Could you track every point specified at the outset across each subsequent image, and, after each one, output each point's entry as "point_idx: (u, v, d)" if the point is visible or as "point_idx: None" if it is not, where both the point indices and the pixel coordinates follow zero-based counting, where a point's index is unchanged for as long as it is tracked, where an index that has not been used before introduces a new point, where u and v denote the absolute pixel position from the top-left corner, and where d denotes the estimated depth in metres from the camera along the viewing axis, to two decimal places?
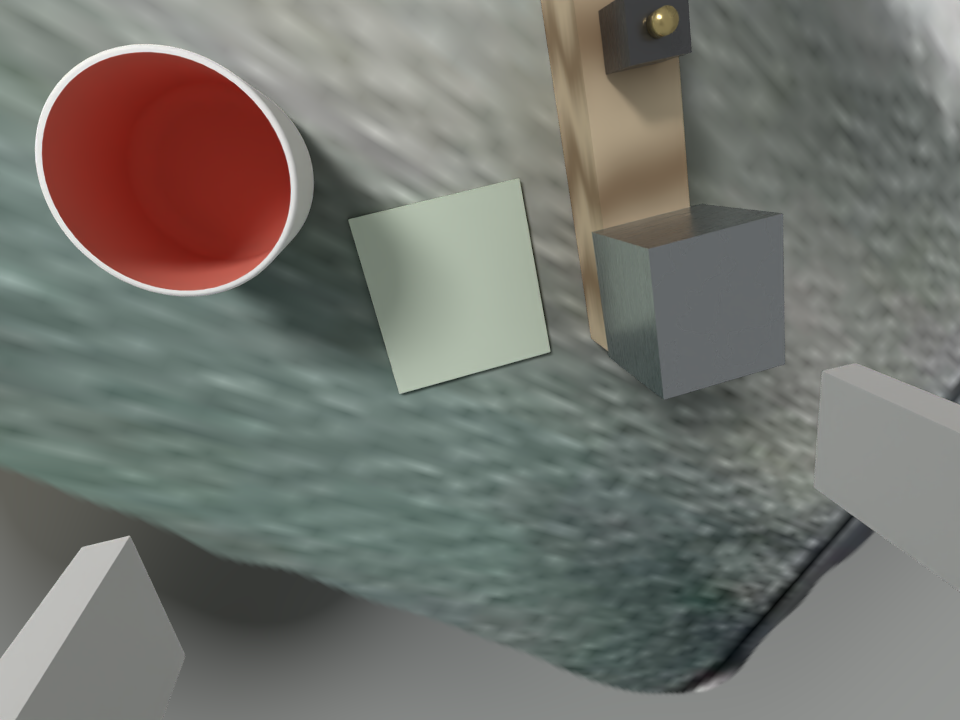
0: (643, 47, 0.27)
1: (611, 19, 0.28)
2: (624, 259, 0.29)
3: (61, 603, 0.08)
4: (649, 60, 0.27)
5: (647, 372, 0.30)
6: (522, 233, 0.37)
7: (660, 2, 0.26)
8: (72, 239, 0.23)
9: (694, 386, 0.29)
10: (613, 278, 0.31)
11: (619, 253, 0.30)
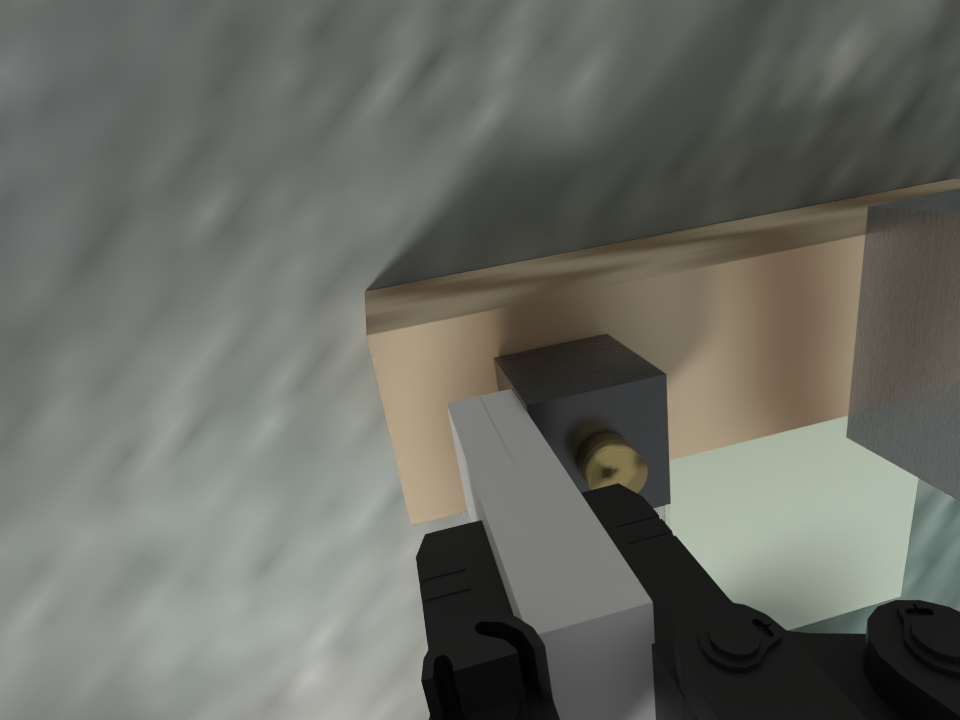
0: None
1: None
2: None
3: (472, 427, 0.11)
4: (666, 465, 0.12)
5: None
6: (746, 450, 0.23)
7: (564, 459, 0.12)
8: None
9: None
10: None
11: None
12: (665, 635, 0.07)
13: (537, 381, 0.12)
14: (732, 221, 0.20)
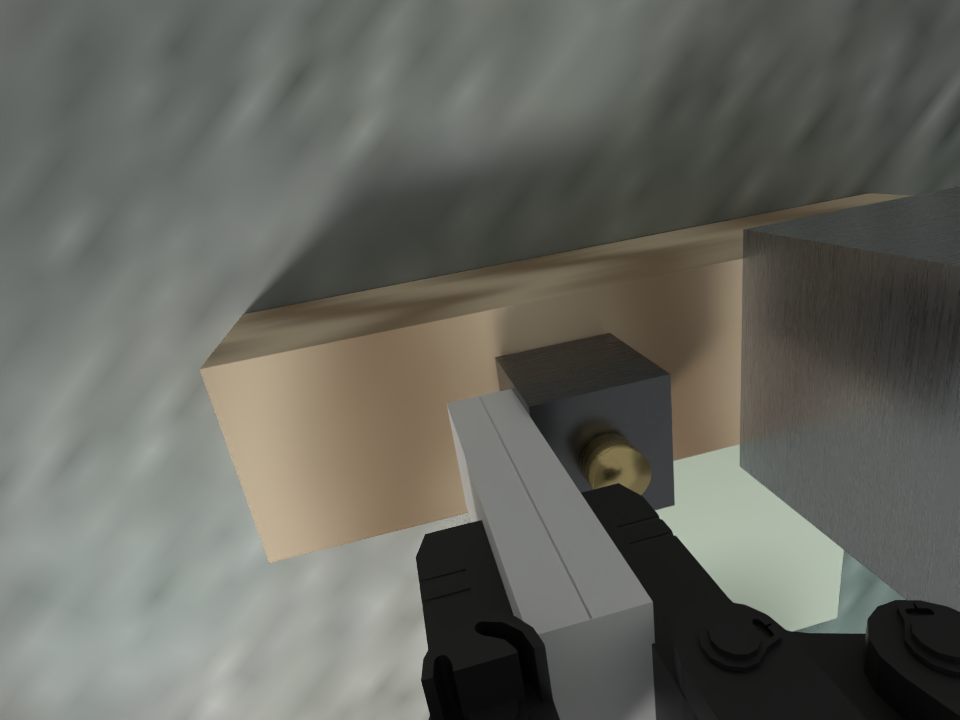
0: None
1: None
2: None
3: (472, 427, 0.11)
4: (670, 466, 0.12)
5: None
6: None
7: (566, 460, 0.12)
8: None
9: None
10: None
11: None
12: (665, 635, 0.07)
13: (539, 381, 0.12)
14: (634, 239, 0.19)
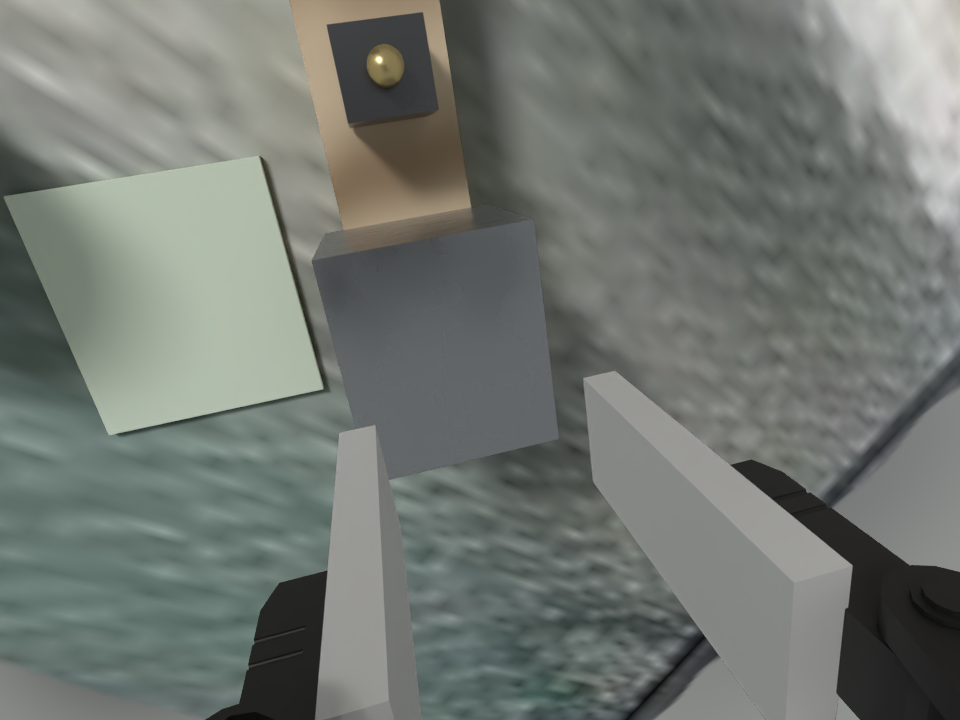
0: (365, 99, 0.19)
1: None
2: None
3: (354, 462, 0.10)
4: (376, 117, 0.19)
5: None
6: (269, 231, 0.27)
7: (384, 39, 0.19)
8: None
9: (418, 466, 0.20)
10: None
11: None
12: (856, 600, 0.07)
13: None
14: None
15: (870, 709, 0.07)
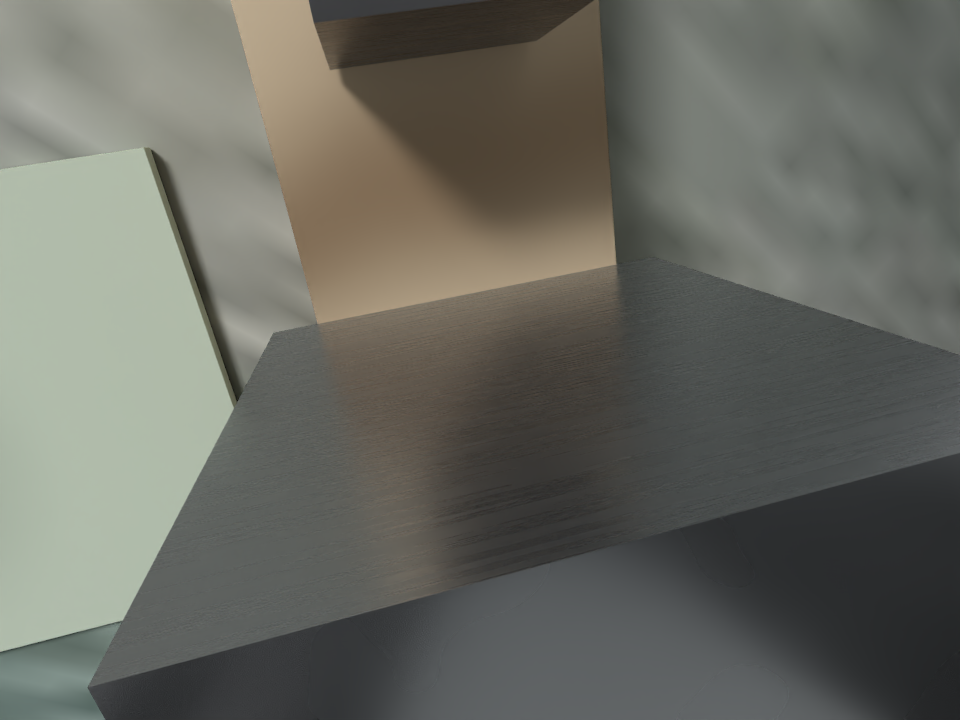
0: None
1: None
2: None
3: None
4: (412, 5, 0.06)
5: None
6: (175, 300, 0.13)
7: None
8: None
9: None
10: None
11: None
12: None
13: None
14: None
15: None
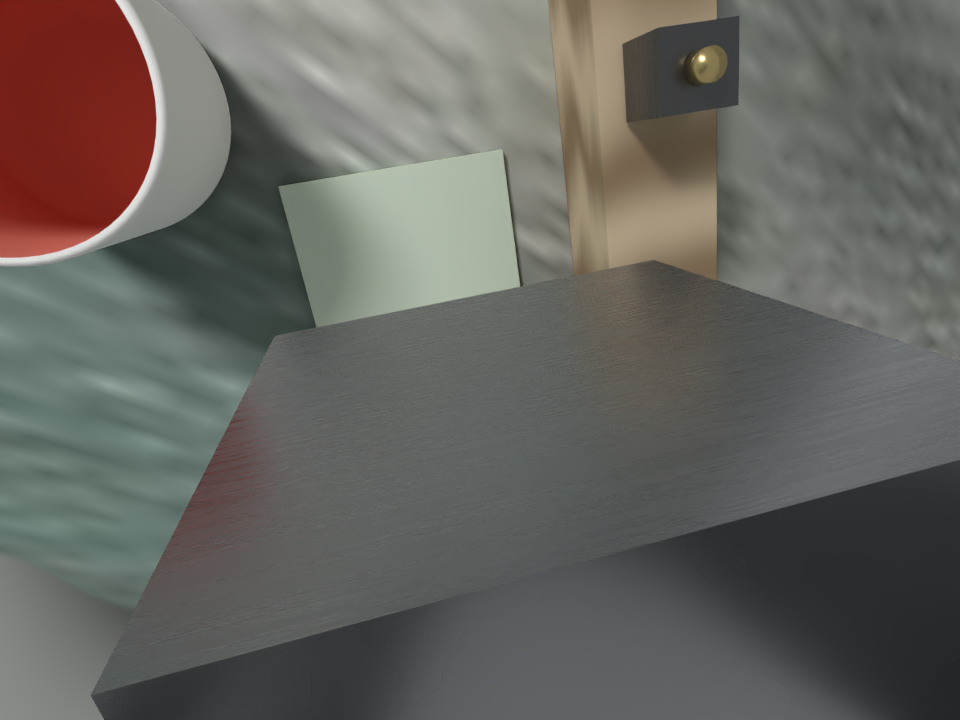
0: (678, 95, 0.21)
1: (638, 57, 0.22)
2: None
3: None
4: (685, 112, 0.21)
5: None
6: (503, 219, 0.29)
7: (704, 41, 0.21)
8: None
9: None
10: None
11: None
12: None
13: None
14: None
15: None
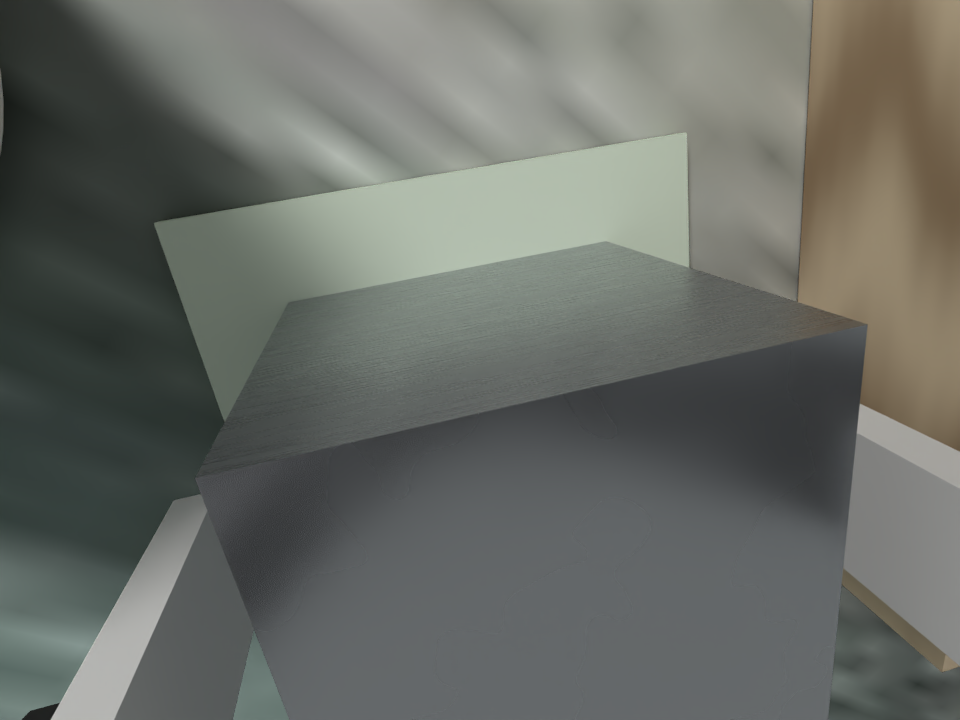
0: None
1: None
2: None
3: (168, 543, 0.09)
4: None
5: None
6: None
7: None
8: None
9: None
10: None
11: None
12: None
13: None
14: None
15: None
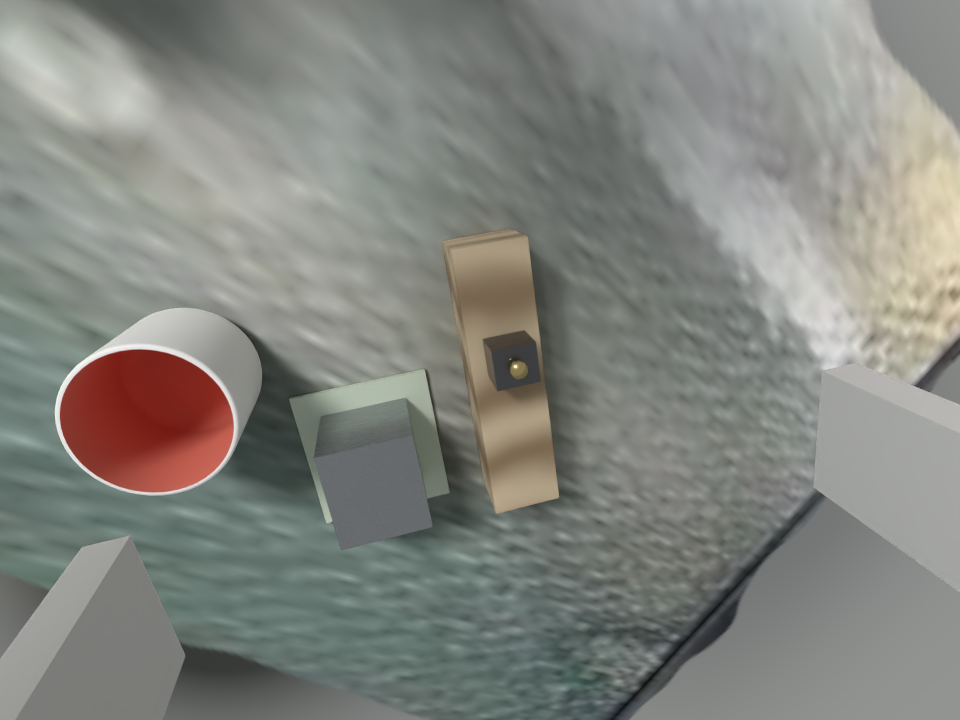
0: (506, 380, 0.39)
1: (487, 353, 0.40)
2: None
3: (61, 602, 0.08)
4: (510, 387, 0.39)
5: None
6: (427, 408, 0.47)
7: (517, 355, 0.39)
8: (76, 461, 0.33)
9: (363, 541, 0.42)
10: None
11: None
12: None
13: None
14: None
15: None
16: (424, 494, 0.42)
